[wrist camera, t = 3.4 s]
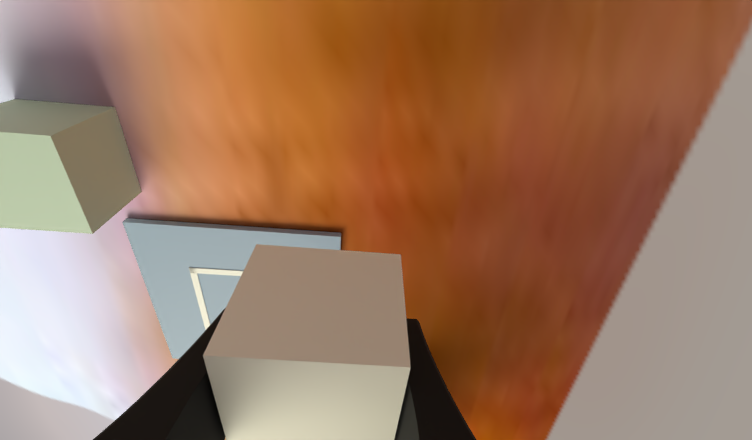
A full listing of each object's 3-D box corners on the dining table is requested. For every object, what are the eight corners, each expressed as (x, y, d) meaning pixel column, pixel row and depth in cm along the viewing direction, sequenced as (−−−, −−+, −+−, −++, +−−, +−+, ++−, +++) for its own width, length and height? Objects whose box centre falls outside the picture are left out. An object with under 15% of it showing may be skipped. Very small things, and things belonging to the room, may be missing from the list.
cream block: (386, 346, 14) (389, 463, 10) (267, 339, 13) (230, 455, 10) (400, 254, 11) (410, 367, 8) (256, 244, 11) (202, 355, 8)
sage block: (142, 190, 19) (92, 233, 16) (56, 184, 19) (-14, 226, 16) (116, 106, 17) (50, 135, 13) (16, 98, 16) (-76, 126, 13)
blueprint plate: (336, 362, 27) (336, 367, 26) (175, 353, 26) (172, 359, 26) (341, 232, 20) (340, 237, 20) (126, 218, 20) (121, 222, 19)
